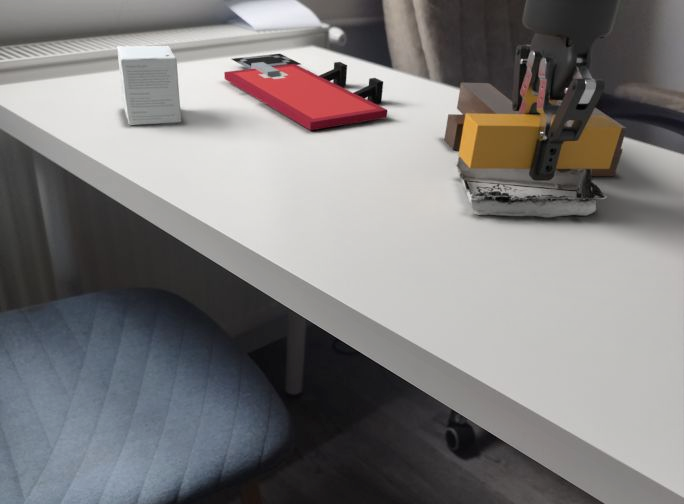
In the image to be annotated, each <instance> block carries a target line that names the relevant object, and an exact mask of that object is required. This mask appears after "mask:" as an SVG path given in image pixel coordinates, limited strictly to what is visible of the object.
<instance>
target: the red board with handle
mask: <svg viewBox="0 0 684 504" xmlns="http://www.w3.org/2000/svg"><path fill="white" fill-rule="evenodd" d="M231 60H232V61H234V62H235V63H237V64H239V65H241V66H243V67H244V68H246V69H238V70H230V71H224V72H223V73H224V80H226V81H227V82H228V83H231V84H232V85H234V86H236V87H237V88H239V89H241V90H242V91H244V92H245V93H247V94H249V95H251V96H252V97H254V98H255V99H257V100H259V101H260V102H262V103H264V104H265V105H267V106H269V107H271V108H272V109H274V110H276V111H277V112H279V113H281V114H283V115H284V116H286V117H287V118H289V119H290V120H292V121H294V122H296V123H298V124H299V125H300V126H302V127H304V128H305V129H308V130H309V131H315V130H321V129H327V128H332V127H338V126H339V127H340V126H345V125H349V124H356V123H363V122H367V121H374V120H379V119H385V118H388V109H386V108H385V107H383V106H380V104H382V101H383V99H382V98H383V89H384V81H383V80H380V79H379V78H377V77H370V78H368V85H366V86H365V87H362V88H360V89H358V90H356V91H354V92H352V91H350V90H348V89H346V88H344V87H347V74H348V65H347V64H346V63H343V62H341V61H335V62H333V69H331V70H328V71H326V72H324V73H322V74H319V75H318V74H316V73H313V72H312V71H310V70H308V69H306V68H304V67H301V66H300V65H302V63H300V62H298V61H297V60H294V59H292V58H290V57H288V56H286V55H284V54H282V53H273V54H272V53H271V54H262V55H252V56H243V57H234V58H231Z"/></svg>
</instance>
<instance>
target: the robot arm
mask: <svg viewBox="0 0 684 504" xmlns="http://www.w3.org/2000/svg"><path fill="white" fill-rule="evenodd" d="M620 2H621V0H525V4H524V9H523V14H522V18H521V21H522V25H523V26H524V27H525V28H526V29H527V30H529V31H531V32H534V35H533V38H532V40H531V42H530V44H518V45H517V46H516V48H515V55H514V66H513V67H514V70H513V83H512V84H513V85H512V86H513V87H512V100H511V101H512V109H513V111H518V112H519V113H518V114H533V115H541V118H540V125H539V133H538V138H539V139H537V143H536V147H535V151H534V155H533V160H532V164H531V168H530V171H529V176H530V177H531V178H532V179H533V180H535V181H549V180H551V179H552V178H553V177H554V174H555V170H556V166H557V162H558V158H559V154H560V150H561V147H562V144H563V143H564V142H565V141H577V140H578V139H579V138H580V136H581V134H582V132H583V130H584V128H585V126H586V124H587V122H588V120H589V118H590V116H591V114H592V112H593V110H594V108H596V107H597V105H598V102H599V101H600V98H601V96H602V95H603V92H604V90H605V87H606V85H605V80H604V79H603V78H593V76H592V74H591V72H590V70H591V67H592V54H593V46H594V43H595V42H596V41H598V40H599V39H604V38H606V37H608V36H609V35H611V33H612V31H613V28H614V25H615V21H616V17H617V13H618V9H619V6H620ZM558 100H562V103H561V104H553V103H555V102H557V101H558ZM553 114H556V116H555V118H554V120H553V122H552V124H551V118H552V115H553ZM572 120H574V122H573V124H572V126H571V121H572ZM550 125H551V126H550Z"/></svg>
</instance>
